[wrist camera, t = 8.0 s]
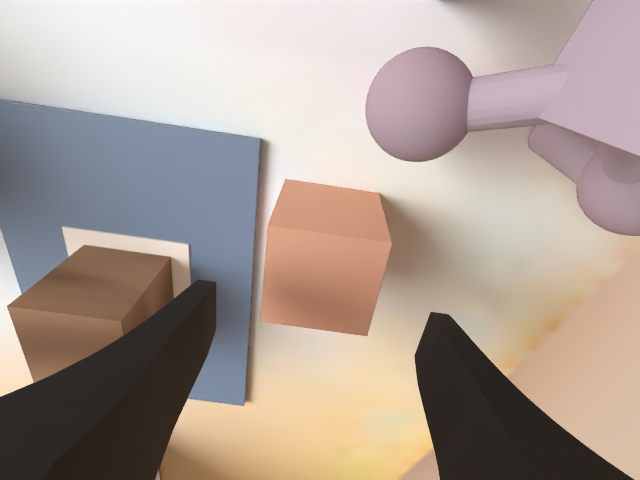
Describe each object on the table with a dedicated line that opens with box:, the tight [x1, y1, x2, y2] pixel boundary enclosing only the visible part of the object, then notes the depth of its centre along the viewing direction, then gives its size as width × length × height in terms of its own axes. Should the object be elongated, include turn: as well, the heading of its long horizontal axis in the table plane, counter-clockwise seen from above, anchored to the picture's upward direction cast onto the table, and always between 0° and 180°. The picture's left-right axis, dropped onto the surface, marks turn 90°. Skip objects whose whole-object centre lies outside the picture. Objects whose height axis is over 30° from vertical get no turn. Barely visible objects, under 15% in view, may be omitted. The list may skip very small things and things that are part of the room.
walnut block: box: [7, 245, 174, 383], centre depth 18 cm, size 4×4×5 cm
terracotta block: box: [260, 179, 392, 336], centre depth 16 cm, size 4×4×5 cm
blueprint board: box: [0, 99, 261, 406], centre depth 20 cm, size 18×13×1 cm
